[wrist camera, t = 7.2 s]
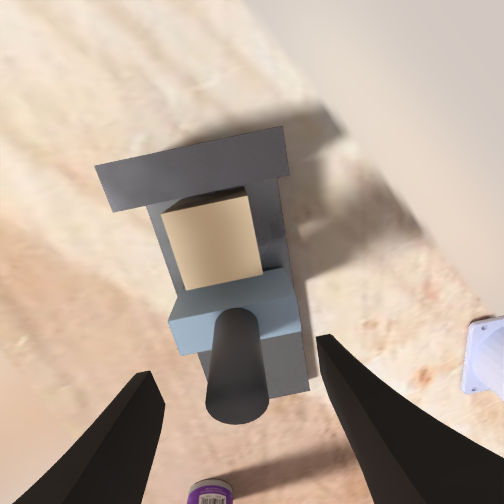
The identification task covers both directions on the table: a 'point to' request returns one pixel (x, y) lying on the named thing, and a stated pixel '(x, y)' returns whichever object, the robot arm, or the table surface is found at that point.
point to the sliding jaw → (235, 338)
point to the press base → (212, 181)
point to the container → (210, 492)
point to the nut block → (213, 238)
